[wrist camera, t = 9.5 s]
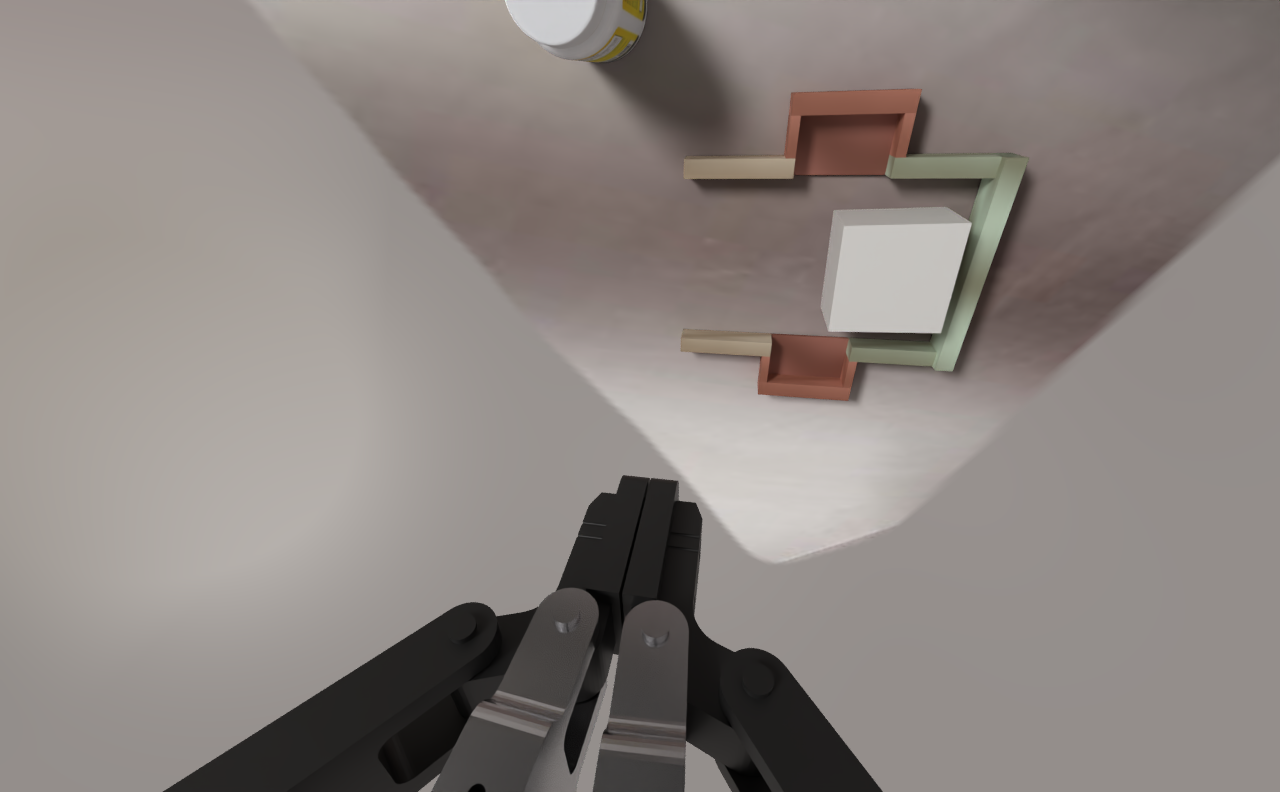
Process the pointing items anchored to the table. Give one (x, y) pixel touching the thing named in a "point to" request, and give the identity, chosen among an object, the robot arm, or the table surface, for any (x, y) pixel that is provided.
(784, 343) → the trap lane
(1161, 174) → the table surface
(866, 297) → the grey block
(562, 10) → the supplement bottle
